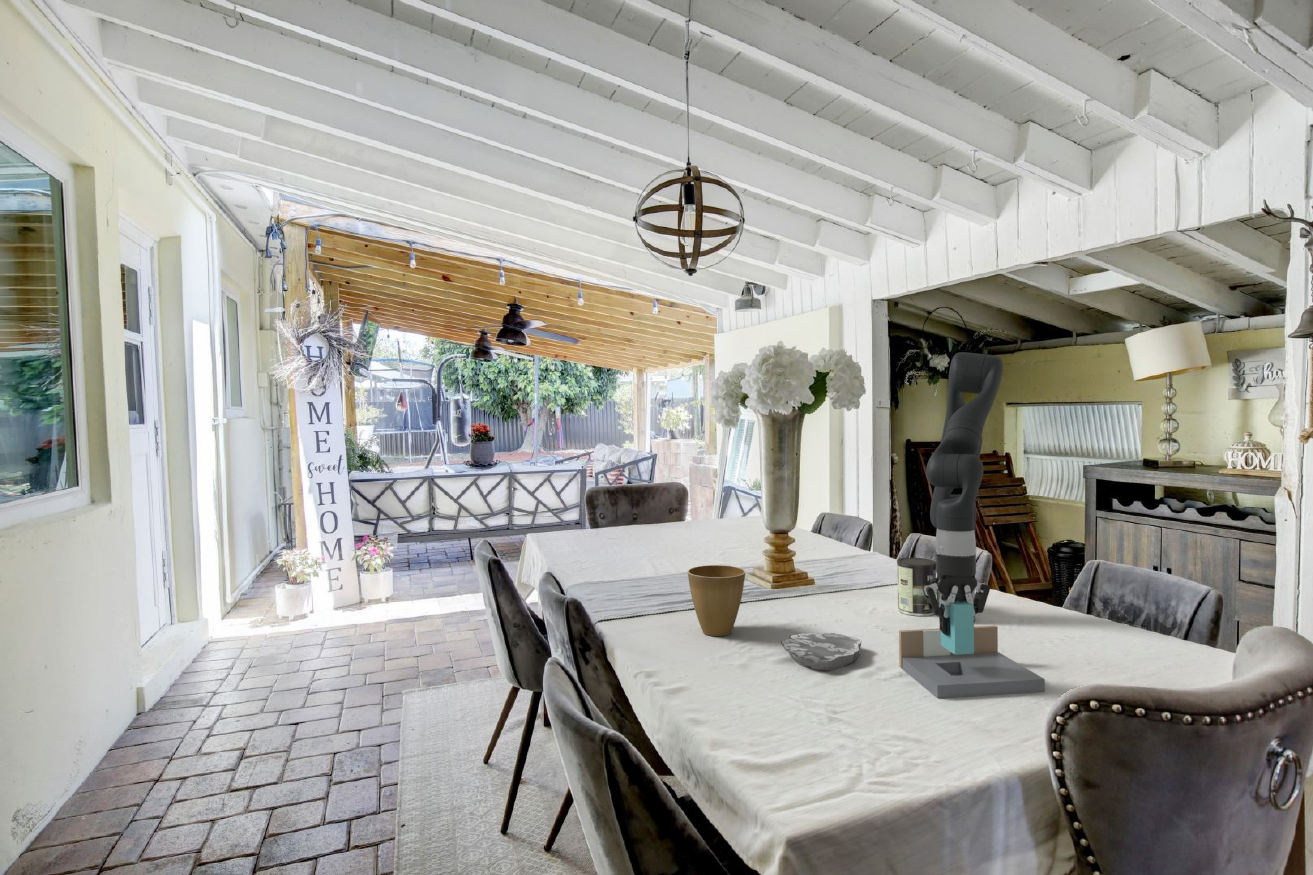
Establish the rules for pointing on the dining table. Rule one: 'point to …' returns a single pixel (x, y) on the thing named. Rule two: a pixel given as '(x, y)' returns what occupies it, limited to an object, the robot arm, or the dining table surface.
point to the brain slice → (822, 650)
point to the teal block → (960, 629)
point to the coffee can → (914, 585)
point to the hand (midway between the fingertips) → (956, 633)
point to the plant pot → (716, 596)
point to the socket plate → (964, 665)
